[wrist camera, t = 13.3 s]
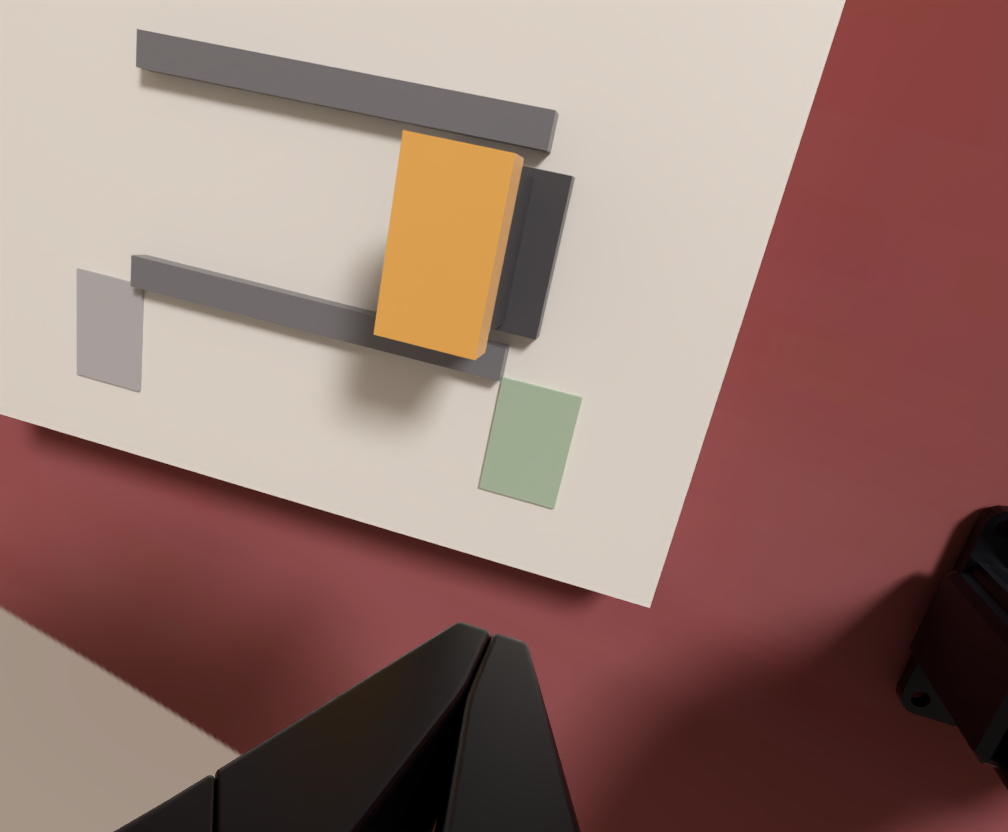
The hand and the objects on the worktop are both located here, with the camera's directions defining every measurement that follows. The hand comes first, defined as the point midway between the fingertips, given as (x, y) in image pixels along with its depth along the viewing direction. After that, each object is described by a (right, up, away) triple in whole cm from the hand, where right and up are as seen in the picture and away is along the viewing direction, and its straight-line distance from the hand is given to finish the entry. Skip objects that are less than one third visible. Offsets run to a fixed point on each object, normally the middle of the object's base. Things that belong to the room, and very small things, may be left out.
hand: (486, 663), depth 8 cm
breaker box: (-3, +9, +11) cm, 14 cm away
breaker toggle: (0, +7, +8) cm, 10 cm away
